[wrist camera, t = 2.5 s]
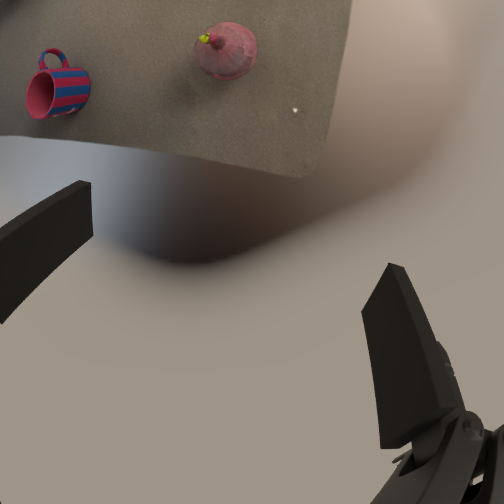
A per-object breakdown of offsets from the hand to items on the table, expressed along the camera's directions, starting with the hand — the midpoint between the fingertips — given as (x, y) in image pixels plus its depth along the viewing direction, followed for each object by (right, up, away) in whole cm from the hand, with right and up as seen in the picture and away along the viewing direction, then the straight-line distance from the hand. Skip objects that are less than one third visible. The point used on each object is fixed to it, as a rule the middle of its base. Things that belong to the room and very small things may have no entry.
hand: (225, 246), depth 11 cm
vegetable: (-1, +21, +14) cm, 25 cm away
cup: (-24, +24, +16) cm, 37 cm away
